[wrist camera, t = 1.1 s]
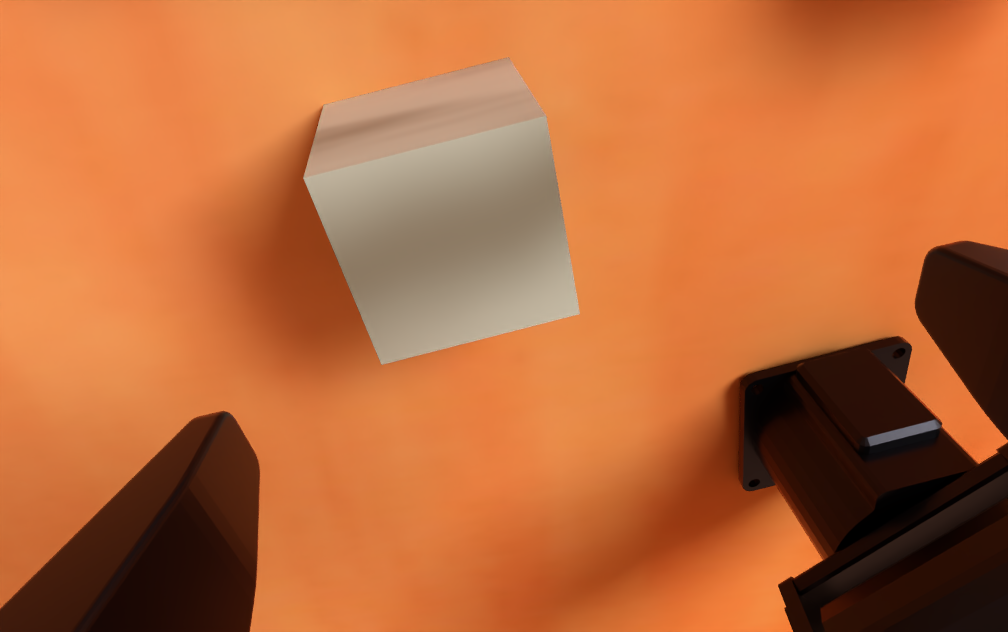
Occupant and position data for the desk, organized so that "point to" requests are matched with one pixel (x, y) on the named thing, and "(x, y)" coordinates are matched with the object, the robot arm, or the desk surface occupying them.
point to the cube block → (444, 209)
